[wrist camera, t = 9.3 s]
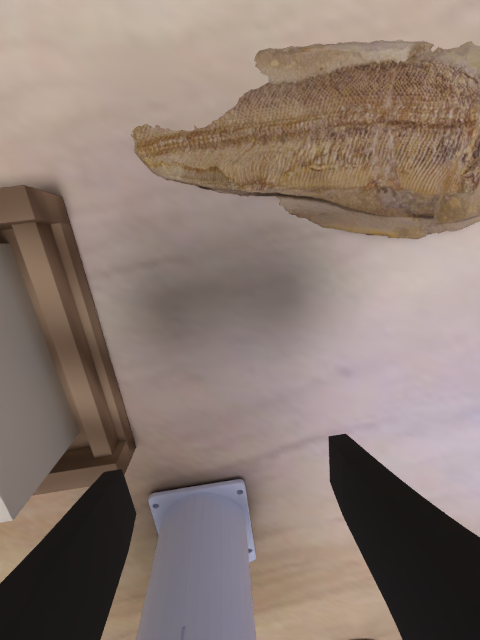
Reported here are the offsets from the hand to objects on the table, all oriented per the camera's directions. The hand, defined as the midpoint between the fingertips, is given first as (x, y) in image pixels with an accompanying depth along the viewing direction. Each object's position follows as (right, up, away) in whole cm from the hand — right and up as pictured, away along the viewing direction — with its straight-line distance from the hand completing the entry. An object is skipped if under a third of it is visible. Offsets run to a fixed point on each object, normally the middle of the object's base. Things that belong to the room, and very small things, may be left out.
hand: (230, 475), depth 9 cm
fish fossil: (+7, +17, +7) cm, 19 cm away
